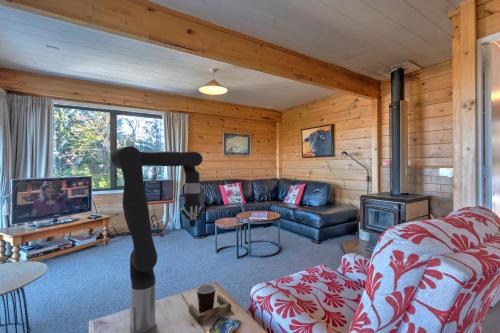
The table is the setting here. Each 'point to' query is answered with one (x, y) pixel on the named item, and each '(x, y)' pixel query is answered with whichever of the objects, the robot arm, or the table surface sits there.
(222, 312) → the walnut corral
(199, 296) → the coffee mug
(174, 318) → the table surface
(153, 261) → the robot arm
